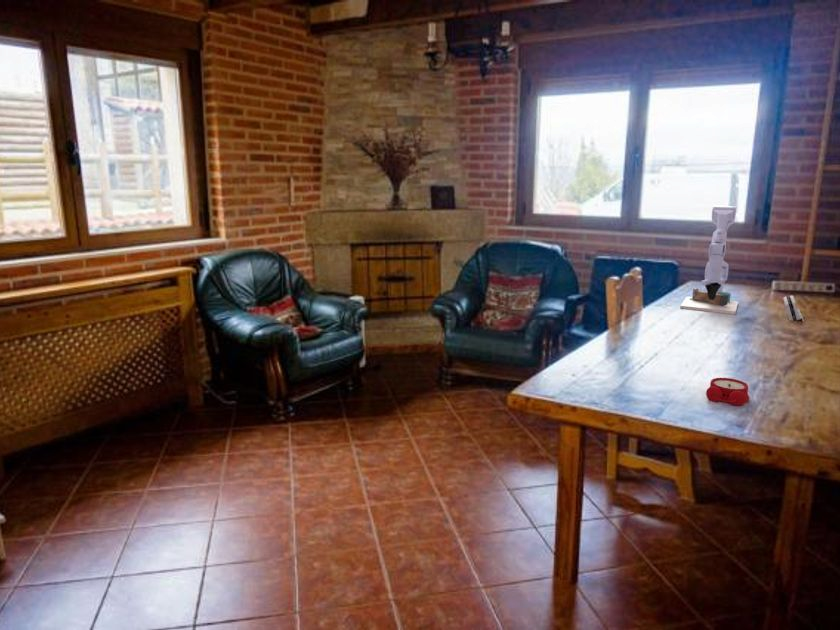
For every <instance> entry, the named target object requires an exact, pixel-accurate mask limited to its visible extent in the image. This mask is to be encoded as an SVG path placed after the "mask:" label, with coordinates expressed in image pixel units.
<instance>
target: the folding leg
mask: <svg viewBox="0 0 840 630" xmlns="http://www.w3.org/2000/svg"><path fill="white" fill-rule="evenodd" d="M691 297H692V299H696V300H701V301H705V302H710V303H715V304H720V305H727V303H728V295H722V294H717V293H716V295H715V298H714V300H710V299H708V292H706V290H701V289H700V290H699V288H695V287H694V288H693V289H692V296H691Z"/></svg>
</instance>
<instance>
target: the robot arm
mask: <svg viewBox="0 0 840 630" xmlns="http://www.w3.org/2000/svg"><path fill="white" fill-rule="evenodd" d="M736 214H737V207H736V205H734V206H732V205H731V206H730V205H729V206H728V205H727V206H726V205H713V206H712V210H711V222H712V224H713V225H715V226H716V230H714V231H713V233H712V236H711V237H712V238H711V243H710V244H709V246H708V262H707V263H706V266H705V269H704V279H703V280H701V282H700V285H701V286H704V287H705V291H706V292H708V299H710V300H714V298H715V295H716V293H717V294H718V293H719V292H724V283H726V281H728V277H729V276H728V275H729V263H727V262H726V261H725V260H724V257H725V255H726V251H727V250H726V249H727V236H728V233H727V232H728V229H729V227H730V226H731V225H734V223H735V219H736Z"/></svg>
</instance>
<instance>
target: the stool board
mask: <svg viewBox="0 0 840 630" xmlns="http://www.w3.org/2000/svg"><path fill="white" fill-rule="evenodd" d="M718 294H722V295H728V303H727V305H720V304H715V303H710V302H705V301H701V300H696V299H692V296H686V297H685V298H684V300H683V301H682V303H681V304H680V307H679V308H680V309H682V308H685V310H692V309H693V310H694V311H701V310H702V311H703V312H711V313H720V314H721V313H722V314H728V313H730V314H729V315H736V312H737V309H738V306H739V301H735V300H731V295H732V293H731V292H728V291H727V292H726V291H723V292H719V293H718ZM693 310H692V311H693Z"/></svg>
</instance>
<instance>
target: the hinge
mask: <svg viewBox="0 0 840 630" xmlns="http://www.w3.org/2000/svg"><path fill="white" fill-rule="evenodd" d="M782 300H783V302H784V303H783V304H784V307H785V311H786V315H787V317H788V319H789V321H790V320H791V321H790V322H793V321H794V320H796V321H798V320H801V319H802V320H801V322H802V321H804V318H803V315H802V313H801V311H800V309H798V307H797V302H796V299H795V297H794V295H789V296H784V297H782ZM804 322H805V321H804Z"/></svg>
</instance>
